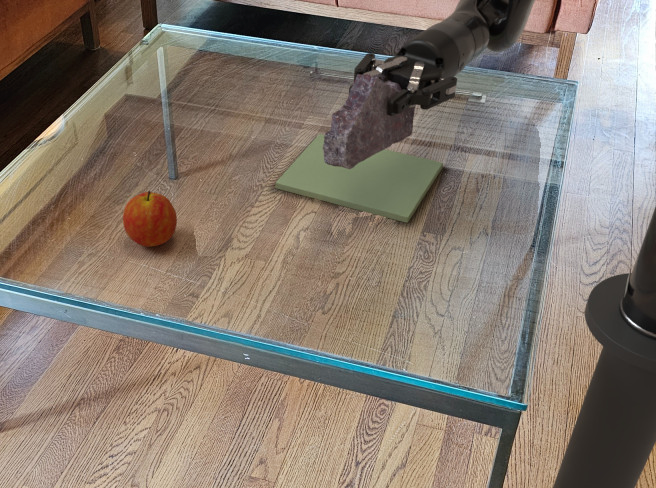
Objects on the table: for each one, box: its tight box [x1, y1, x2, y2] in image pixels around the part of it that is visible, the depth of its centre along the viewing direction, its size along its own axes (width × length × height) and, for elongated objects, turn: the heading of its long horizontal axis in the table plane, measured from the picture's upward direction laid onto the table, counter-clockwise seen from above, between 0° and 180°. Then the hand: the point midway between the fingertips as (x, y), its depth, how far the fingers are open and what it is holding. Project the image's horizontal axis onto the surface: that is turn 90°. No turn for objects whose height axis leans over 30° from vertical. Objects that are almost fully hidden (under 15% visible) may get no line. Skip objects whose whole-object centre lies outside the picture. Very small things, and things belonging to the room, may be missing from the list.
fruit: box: [122, 190, 178, 248], centre depth 109 cm, size 7×7×8 cm
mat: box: [275, 133, 444, 224], centre depth 123 cm, size 20×16×1 cm
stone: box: [323, 74, 417, 169], centre depth 106 cm, size 10×6×15 cm
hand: (371, 102), depth 105 cm, fingers closed on stone, 5 cm apart
